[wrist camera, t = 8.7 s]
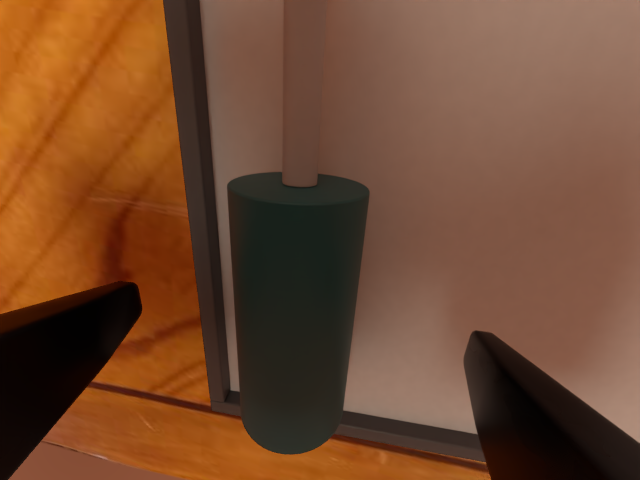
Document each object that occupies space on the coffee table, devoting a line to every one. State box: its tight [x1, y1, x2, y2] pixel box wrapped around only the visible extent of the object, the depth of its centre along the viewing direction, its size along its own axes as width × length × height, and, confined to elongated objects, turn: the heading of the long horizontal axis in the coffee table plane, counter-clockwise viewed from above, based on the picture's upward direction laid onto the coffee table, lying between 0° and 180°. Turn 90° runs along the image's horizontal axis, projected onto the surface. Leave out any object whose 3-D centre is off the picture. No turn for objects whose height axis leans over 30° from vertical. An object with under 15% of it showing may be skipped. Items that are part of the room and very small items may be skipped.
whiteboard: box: [163, 0, 640, 462], centre depth 7 cm, size 22×20×1 cm
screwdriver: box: [227, 0, 370, 454], centre depth 7 cm, size 14×3×3 cm, turn 177°
